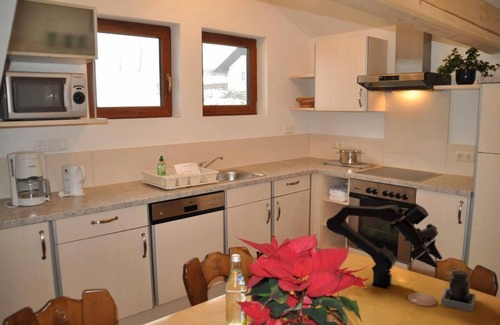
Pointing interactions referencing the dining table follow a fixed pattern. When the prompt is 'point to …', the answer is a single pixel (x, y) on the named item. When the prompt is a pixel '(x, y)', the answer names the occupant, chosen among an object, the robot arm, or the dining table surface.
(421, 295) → the coaster
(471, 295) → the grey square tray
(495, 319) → the dining table surface
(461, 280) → the supplement bottle
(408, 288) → the dining table surface
